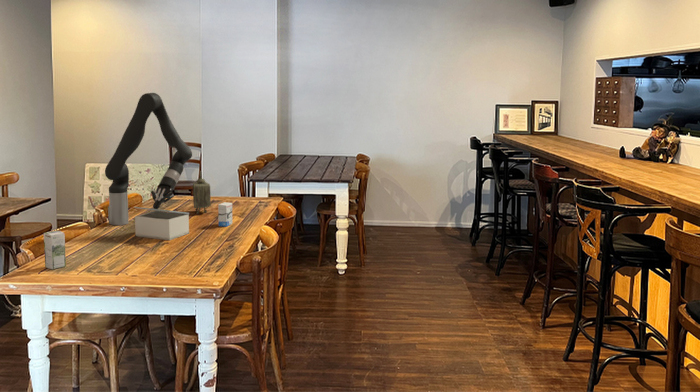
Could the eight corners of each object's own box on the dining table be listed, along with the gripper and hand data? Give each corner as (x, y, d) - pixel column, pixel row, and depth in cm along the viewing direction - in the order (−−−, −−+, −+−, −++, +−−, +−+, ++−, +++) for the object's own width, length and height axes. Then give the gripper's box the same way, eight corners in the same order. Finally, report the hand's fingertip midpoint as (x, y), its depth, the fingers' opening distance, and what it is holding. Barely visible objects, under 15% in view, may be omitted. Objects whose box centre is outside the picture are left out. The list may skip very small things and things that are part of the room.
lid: (134, 207, 300) (134, 206, 300) (155, 210, 315) (155, 209, 315) (169, 211, 293) (169, 210, 293) (189, 214, 309) (189, 212, 309)
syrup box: (58, 264, 252) (56, 230, 250) (66, 266, 249) (64, 232, 246) (45, 267, 248) (42, 232, 245) (53, 270, 244) (50, 234, 242)
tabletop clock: (193, 210, 368) (192, 169, 364) (208, 209, 371) (208, 169, 367) (194, 215, 355) (194, 172, 351) (210, 214, 357) (210, 172, 353)
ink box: (226, 227, 327) (226, 205, 325) (218, 226, 328) (217, 204, 326) (232, 223, 335) (232, 202, 333) (224, 223, 336) (224, 202, 334)
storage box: (135, 236, 302) (134, 216, 301) (156, 229, 317) (155, 210, 315) (169, 240, 296) (169, 220, 294) (189, 233, 310) (188, 214, 309)
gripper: (155, 174, 308) (140, 202, 298) (177, 176, 303) (162, 204, 294) (162, 184, 313) (147, 211, 304) (184, 185, 309) (169, 213, 299)
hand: (155, 208), depth 299 cm, fingers closed
